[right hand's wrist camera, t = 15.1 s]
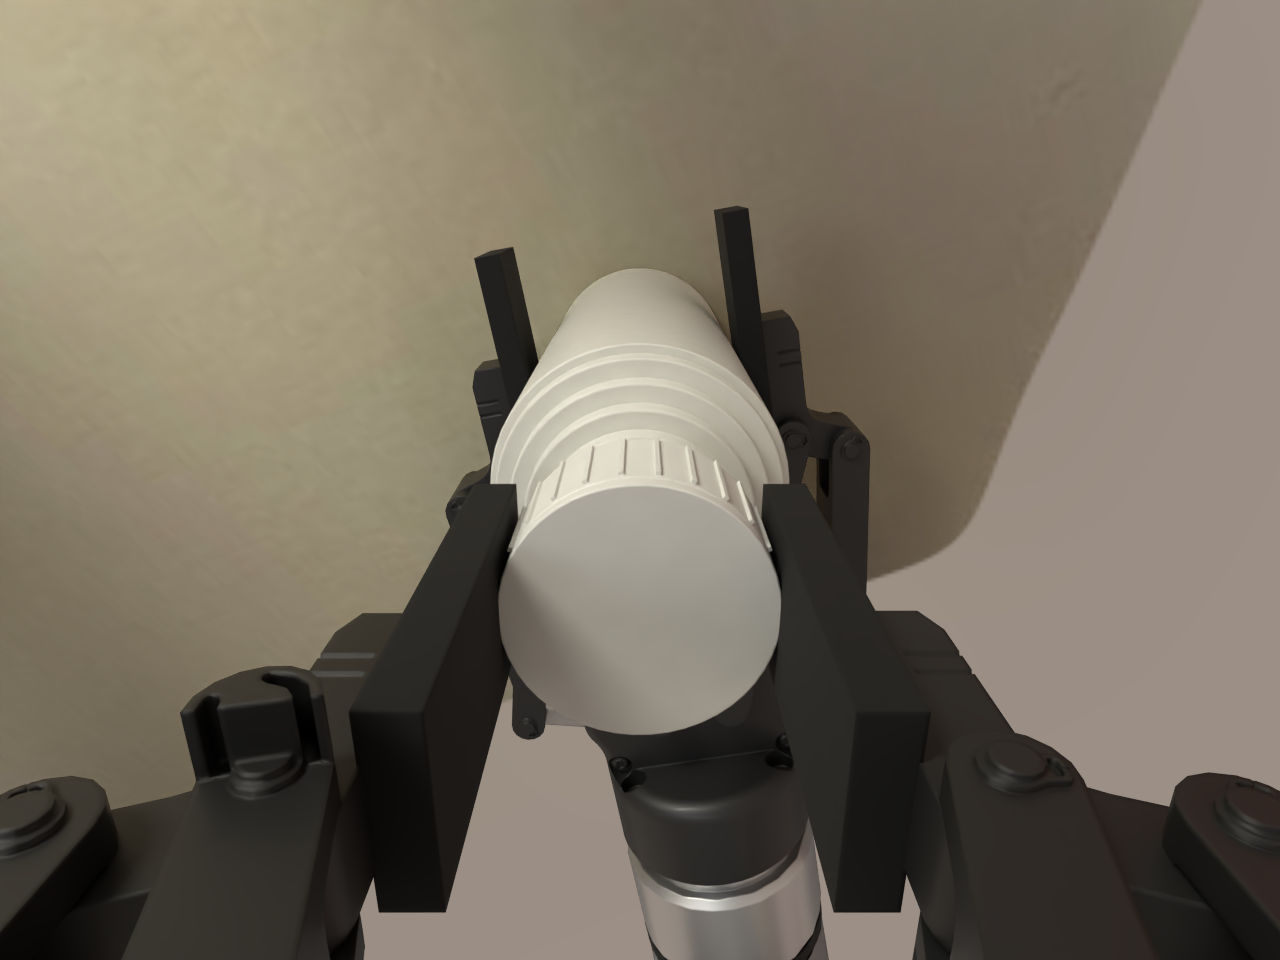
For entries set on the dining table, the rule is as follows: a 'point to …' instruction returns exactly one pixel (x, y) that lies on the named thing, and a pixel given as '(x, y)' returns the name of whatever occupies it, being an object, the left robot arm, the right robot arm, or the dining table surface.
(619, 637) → the cap
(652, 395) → the bottle
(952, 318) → the dining table surface
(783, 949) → the left robot arm
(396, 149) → the dining table surface
